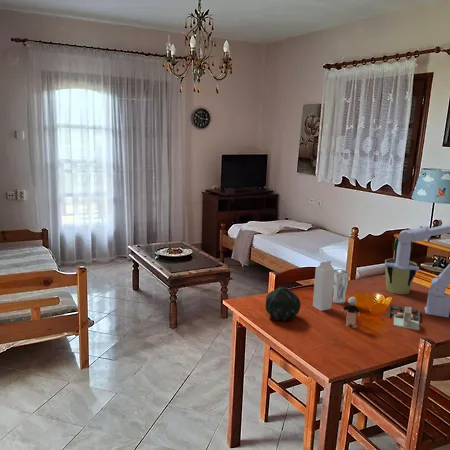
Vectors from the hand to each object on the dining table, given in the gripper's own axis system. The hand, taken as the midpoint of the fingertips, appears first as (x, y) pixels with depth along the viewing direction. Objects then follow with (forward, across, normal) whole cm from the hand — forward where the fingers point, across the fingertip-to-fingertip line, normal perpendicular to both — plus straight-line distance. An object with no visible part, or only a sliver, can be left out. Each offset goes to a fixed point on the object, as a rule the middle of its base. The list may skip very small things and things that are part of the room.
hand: (399, 284), depth 204 cm
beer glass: (+11, -26, -8) cm, 29 cm away
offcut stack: (+11, +3, -15) cm, 19 cm away
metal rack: (+10, +3, -11) cm, 15 cm away
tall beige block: (+10, +4, -21) cm, 24 cm away
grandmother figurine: (+11, -18, -33) cm, 39 cm away
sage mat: (+10, +4, -21) cm, 24 cm away
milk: (+11, -32, -19) cm, 39 cm away
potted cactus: (+11, 0, +21) cm, 24 cm away
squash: (+11, -46, -36) cm, 60 cm away
